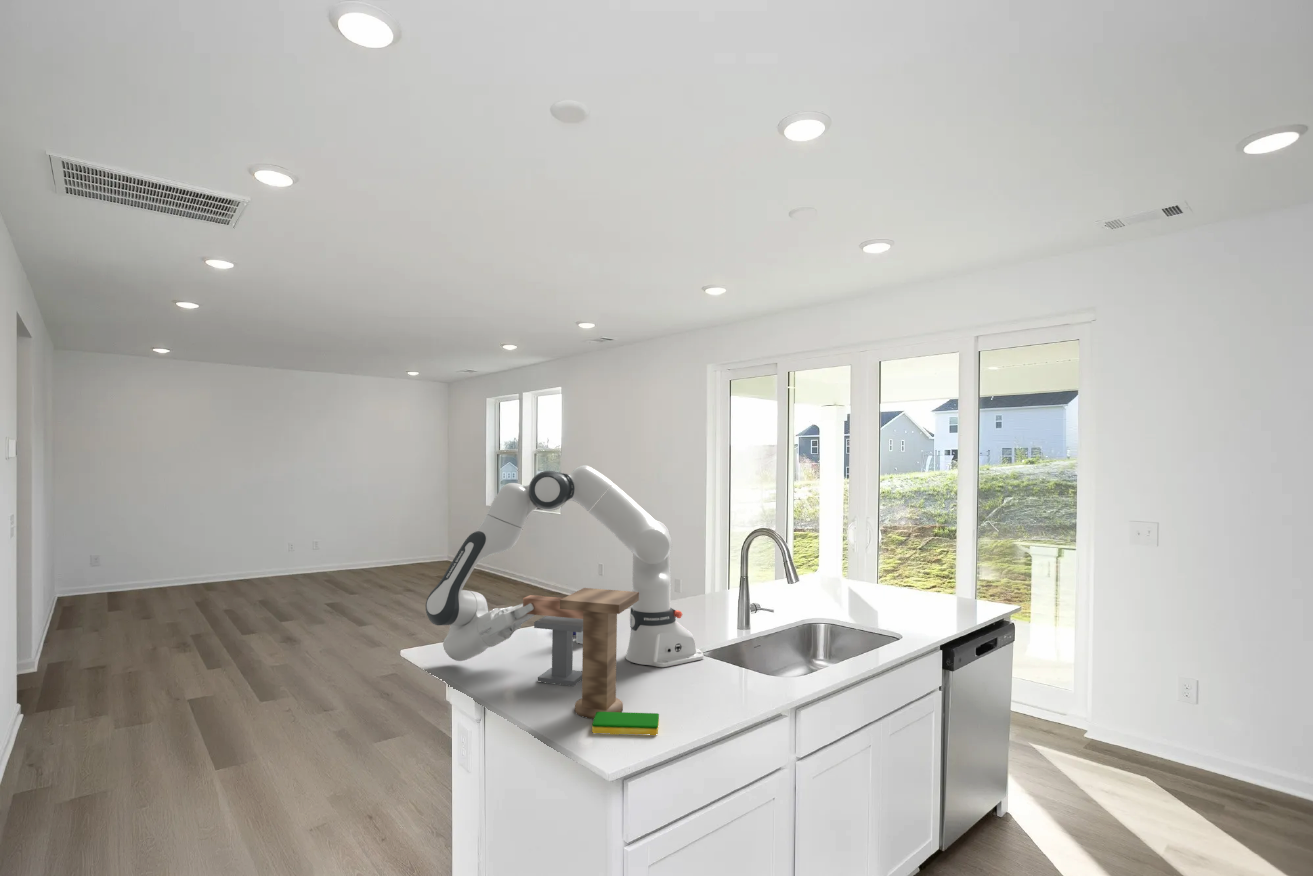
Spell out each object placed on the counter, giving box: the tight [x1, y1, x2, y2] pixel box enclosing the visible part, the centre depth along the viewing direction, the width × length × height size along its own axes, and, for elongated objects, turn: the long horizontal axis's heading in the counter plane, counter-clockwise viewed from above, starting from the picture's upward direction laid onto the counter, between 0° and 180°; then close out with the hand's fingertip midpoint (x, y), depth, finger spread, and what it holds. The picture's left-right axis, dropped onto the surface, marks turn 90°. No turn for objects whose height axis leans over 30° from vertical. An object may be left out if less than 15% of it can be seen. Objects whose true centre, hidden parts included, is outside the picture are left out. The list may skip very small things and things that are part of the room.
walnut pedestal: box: [560, 587, 639, 720], centre depth 155 cm, size 14×14×26 cm
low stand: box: [533, 616, 583, 687], centre depth 175 cm, size 13×8×15 cm, turn 73°
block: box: [522, 594, 583, 619], centre depth 175 cm, size 19×4×4 cm, turn 73°
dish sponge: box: [591, 711, 660, 736], centre depth 145 cm, size 7×14×2 cm, turn 88°
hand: (537, 603), depth 177 cm, fingers closed on block, 4 cm apart
